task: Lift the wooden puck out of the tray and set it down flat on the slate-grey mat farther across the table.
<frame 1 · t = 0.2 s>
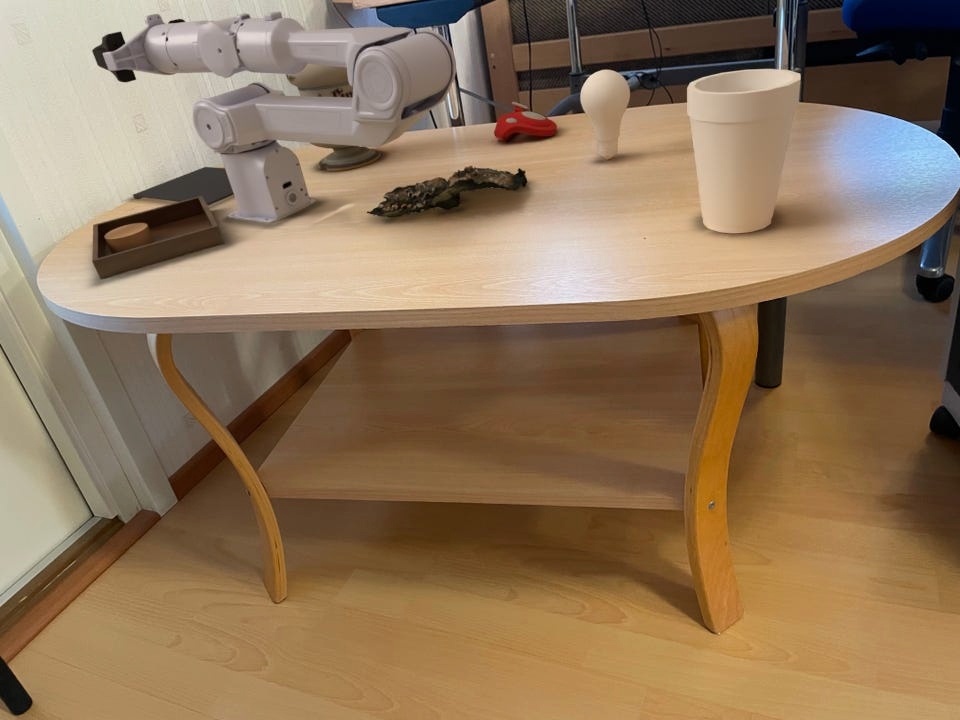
hand: (123, 51, 93), 21 cm above the table, tool horizontal, fingers open, 7 cm apart
wooden puck: (132, 245, 89), resting on tray
foam cup: (736, 222, 68), on the table
lightbulb: (608, 160, 92), on the table
tray: (160, 244, 89), on the table
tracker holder: (528, 134, 109), on the table
tree bark: (450, 205, 86), on the table
apothecary jar: (349, 162, 111), on the table
mat: (207, 187, 110), on the table
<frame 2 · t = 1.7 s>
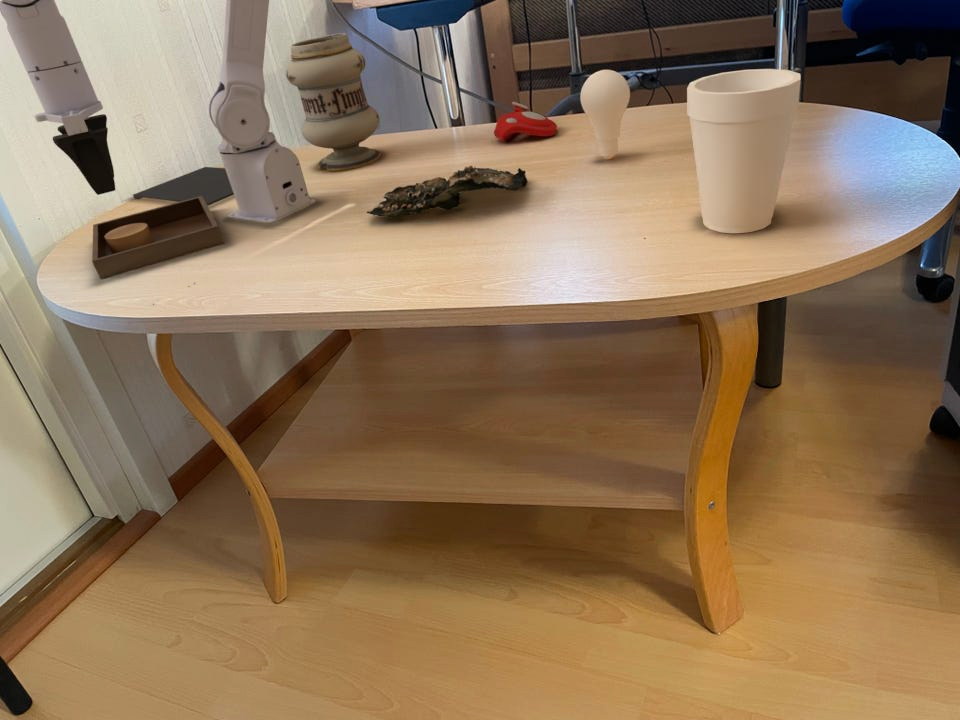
hand: (106, 185, 85), 8 cm above the table, tool pointing down, fingers open, 7 cm apart
nothing on the table moved.
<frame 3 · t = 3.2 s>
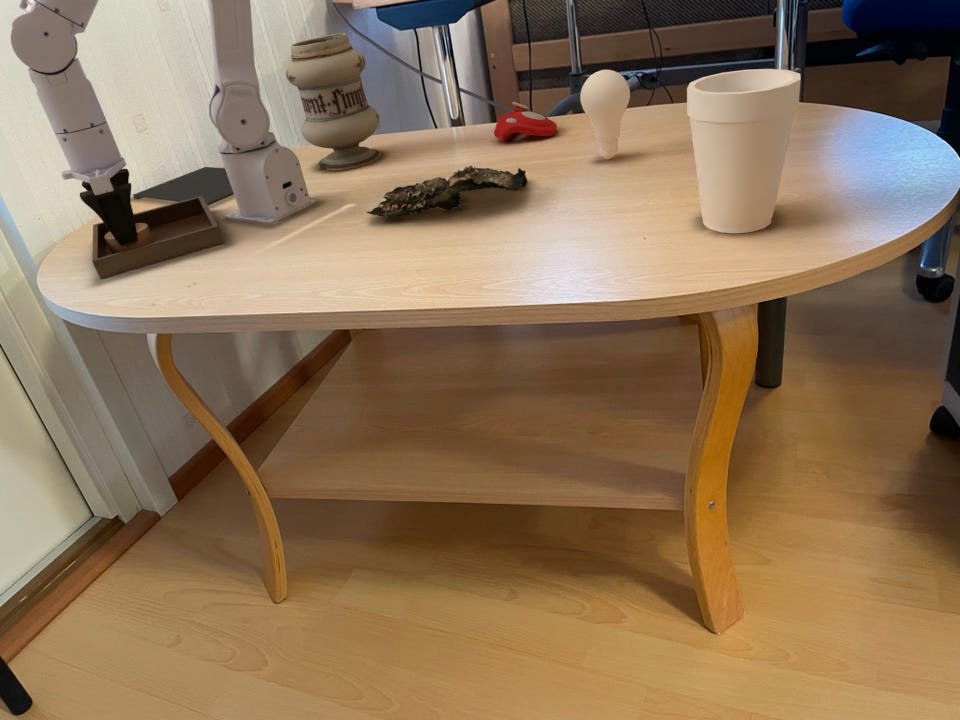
hand: (128, 236, 88), 2 cm above the table, tool pointing down, fingers closed on wooden puck, 5 cm apart
wooden puck: (132, 245, 89), resting on tray, touching gripper
everything else where it was.
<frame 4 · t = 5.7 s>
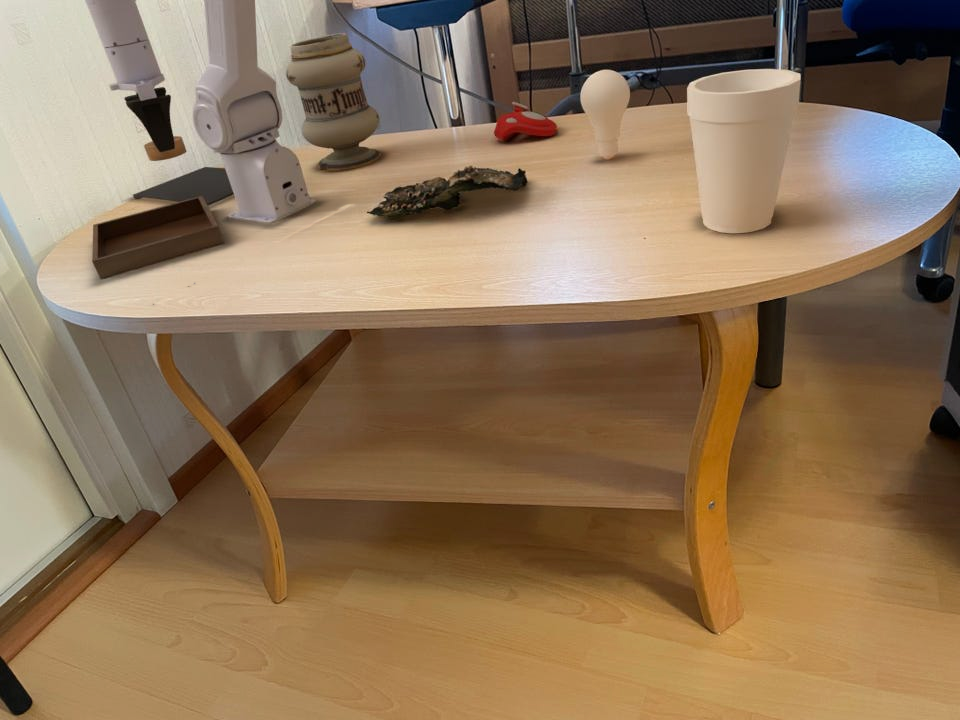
hand: (165, 146, 99), 8 cm above the table, tool pointing down, fingers closed on wooden puck, 5 cm apart
wooden puck: (168, 155, 100), point 7 cm above the table, touching gripper
everything else where it was.
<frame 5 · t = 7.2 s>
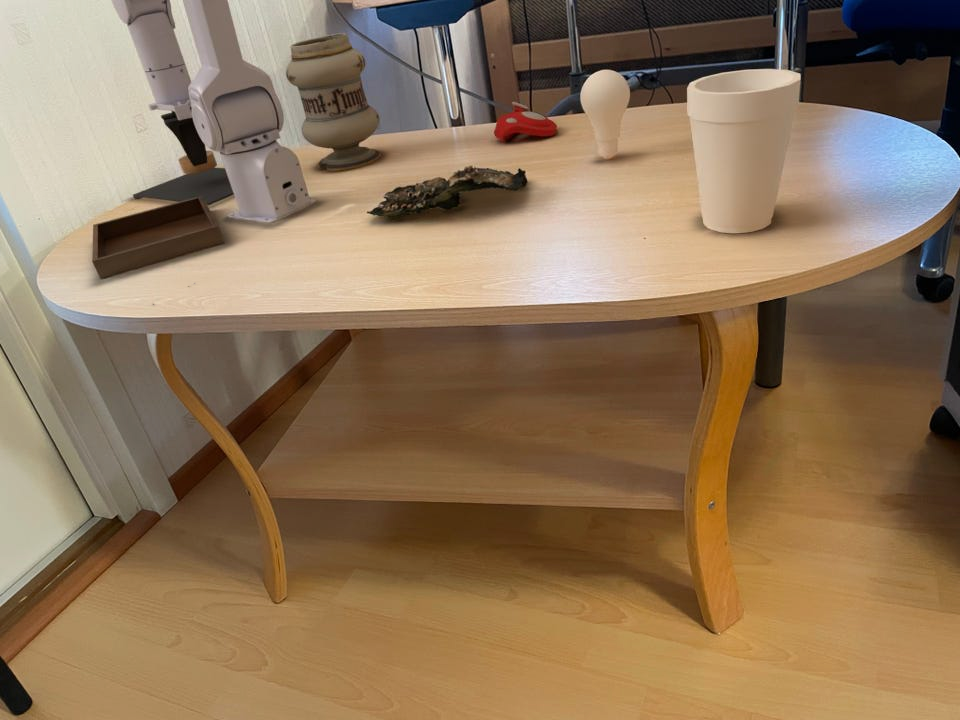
hand: (198, 160, 108), 4 cm above the table, tool pointing down, fingers closed on wooden puck, 5 cm apart
wooden puck: (200, 168, 109), point 3 cm above the table, touching gripper
everything else where it was.
when the fingers open (2 cm above the table, at t = 8.5 s): wooden puck stays where it is, resting on mat.
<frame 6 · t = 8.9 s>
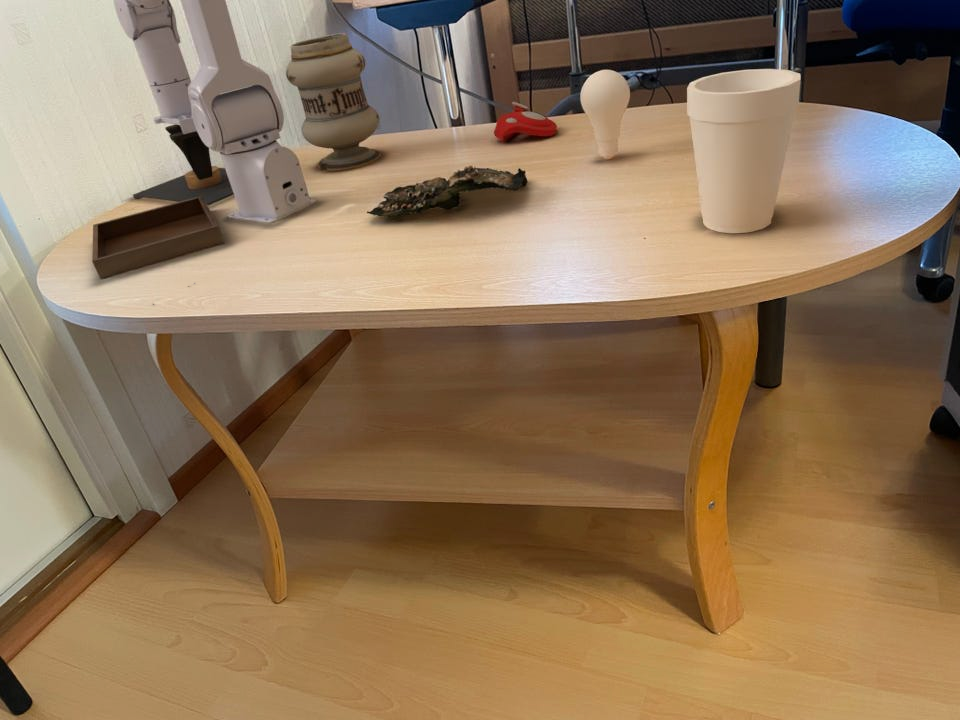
hand: (202, 173, 109), 2 cm above the table, tool pointing down, fingers open, 7 cm apart
wooden puck: (205, 183, 110), point 1 cm above the table, touching mat
everything else where it was.
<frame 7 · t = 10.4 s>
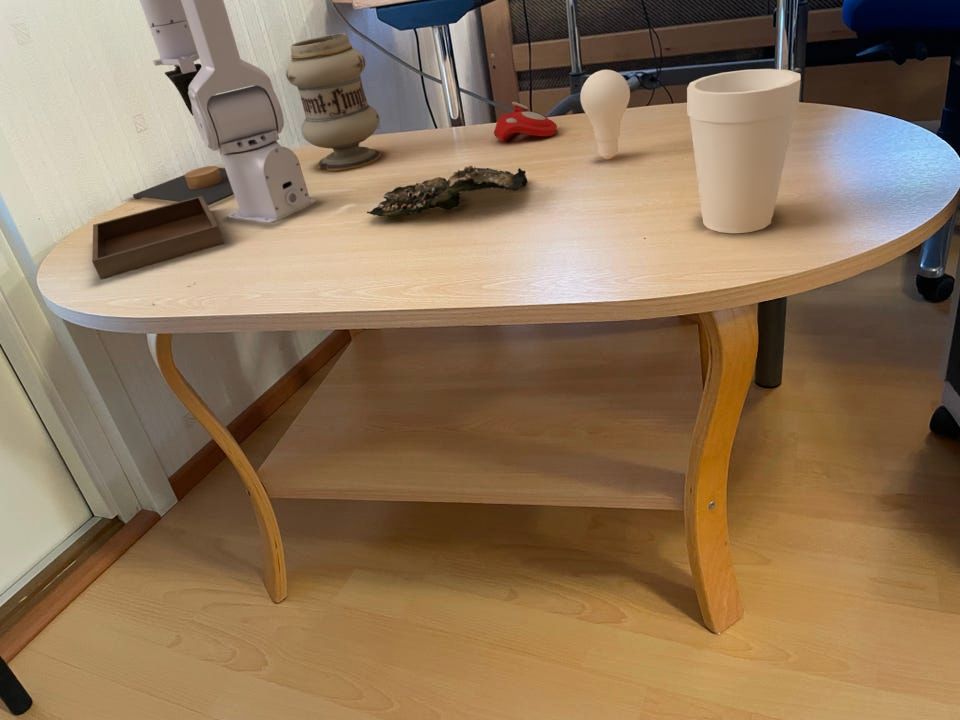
hand: (201, 117, 110), 9 cm above the table, tool pointing down, fingers open, 7 cm apart
nothing on the table moved.
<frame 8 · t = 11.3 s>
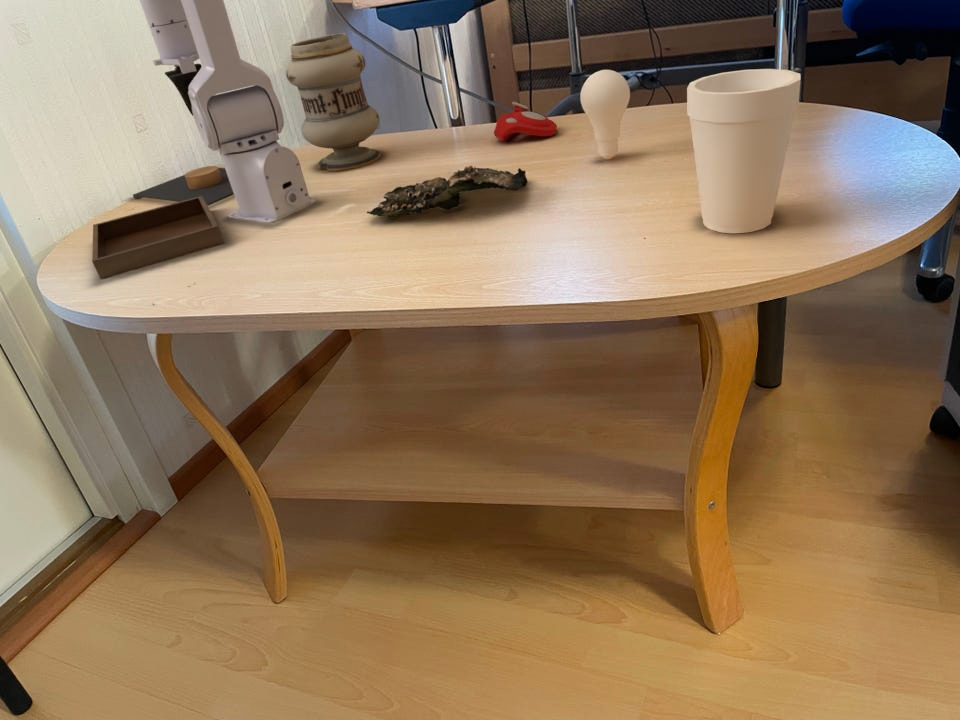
hand: (201, 117, 110), 9 cm above the table, tool pointing down, fingers open, 7 cm apart
nothing on the table moved.
at the end: wooden puck inside the target area on the mat (0.1 cm from its centre), point 0.6 cm above the mat's base; wooden puck tilted 0°; the gripper is holding nothing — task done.
